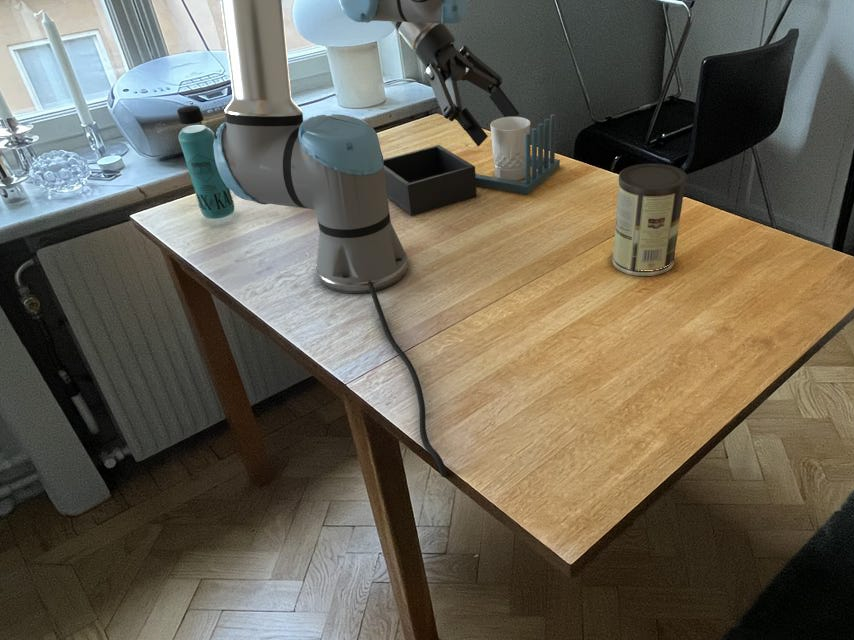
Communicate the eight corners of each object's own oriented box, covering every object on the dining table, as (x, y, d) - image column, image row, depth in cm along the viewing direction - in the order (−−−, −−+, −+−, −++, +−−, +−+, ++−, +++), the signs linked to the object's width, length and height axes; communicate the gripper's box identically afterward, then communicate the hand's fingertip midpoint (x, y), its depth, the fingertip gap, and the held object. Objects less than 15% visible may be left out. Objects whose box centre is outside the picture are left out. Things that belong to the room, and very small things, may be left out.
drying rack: (559, 167, 151) (561, 112, 143) (527, 195, 142) (527, 137, 134) (504, 158, 156) (503, 105, 148) (470, 184, 147) (467, 129, 139)
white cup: (531, 167, 152) (531, 116, 144) (529, 182, 146) (529, 130, 139) (493, 168, 152) (492, 116, 145) (490, 183, 147) (488, 130, 140)
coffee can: (646, 242, 126) (657, 157, 116) (686, 265, 119) (701, 178, 109) (598, 258, 122) (605, 172, 112) (637, 283, 116) (647, 194, 106)
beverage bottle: (201, 217, 142) (165, 105, 128) (235, 209, 144) (202, 99, 129) (207, 229, 138) (170, 116, 123) (242, 222, 139) (209, 109, 125)
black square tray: (476, 196, 143) (475, 166, 138) (411, 216, 138) (407, 185, 134) (441, 173, 152) (438, 144, 147) (378, 191, 147) (374, 161, 143)
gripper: (449, 35, 149) (515, 122, 154) (382, 69, 134) (457, 164, 140) (470, 6, 144) (538, 97, 149) (402, 38, 129) (480, 138, 134)
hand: (499, 130), depth 144 cm, fingers open, 13 cm apart
